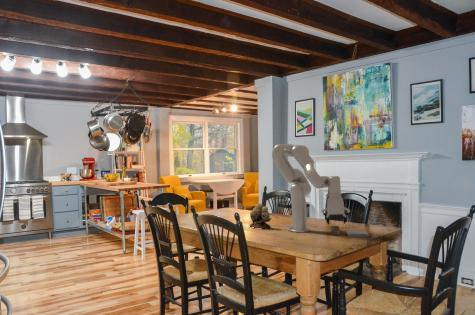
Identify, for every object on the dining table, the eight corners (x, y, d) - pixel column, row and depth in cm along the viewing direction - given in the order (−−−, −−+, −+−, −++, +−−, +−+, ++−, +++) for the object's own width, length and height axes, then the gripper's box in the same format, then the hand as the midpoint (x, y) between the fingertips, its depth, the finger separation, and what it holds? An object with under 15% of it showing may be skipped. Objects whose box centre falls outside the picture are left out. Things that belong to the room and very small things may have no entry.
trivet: (348, 236, 224) (348, 233, 224) (345, 232, 235) (345, 230, 235) (369, 237, 221) (368, 234, 222) (365, 233, 233) (365, 230, 233)
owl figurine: (275, 227, 259) (275, 203, 259) (265, 230, 250) (265, 205, 250) (255, 225, 271) (255, 201, 271) (245, 227, 262) (244, 203, 262)
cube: (331, 235, 230) (331, 227, 230) (330, 233, 235) (330, 225, 235) (339, 235, 229) (339, 227, 229) (338, 233, 234) (338, 225, 234)
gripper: (320, 197, 230) (322, 224, 229) (349, 195, 227) (351, 224, 226) (320, 196, 237) (322, 223, 236) (348, 195, 234) (350, 222, 233)
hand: (336, 223), depth 231 cm, fingers open, 9 cm apart
